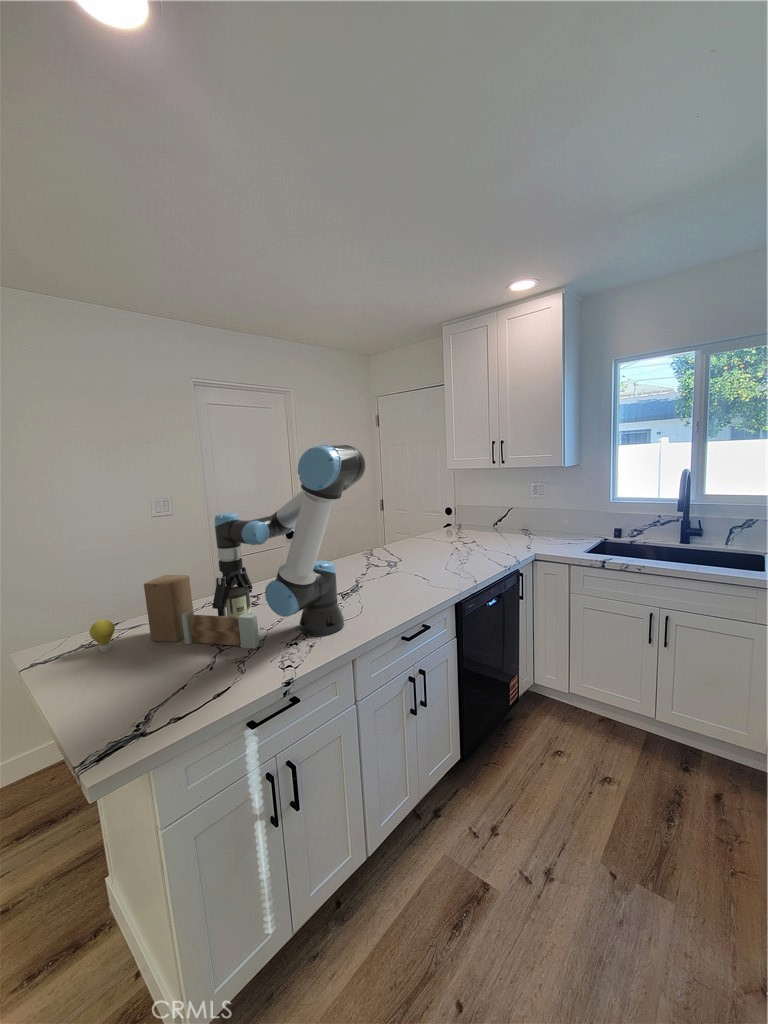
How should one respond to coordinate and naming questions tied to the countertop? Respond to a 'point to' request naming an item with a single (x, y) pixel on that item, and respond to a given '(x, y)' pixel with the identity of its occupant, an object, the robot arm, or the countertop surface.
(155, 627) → the wooden block
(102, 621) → the light bulb
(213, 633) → the gate
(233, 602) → the coffee can
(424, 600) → the countertop surface
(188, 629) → the grey piece
